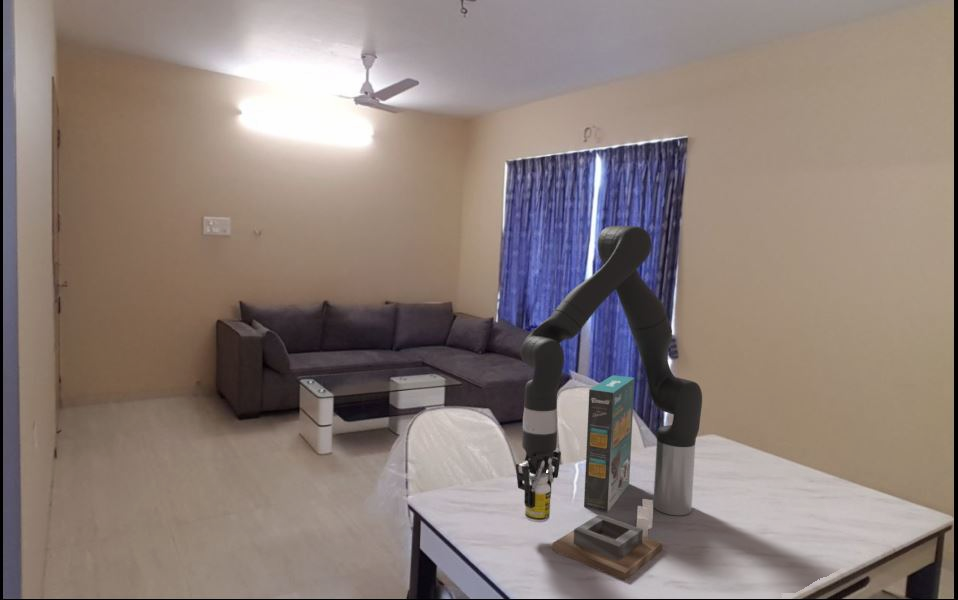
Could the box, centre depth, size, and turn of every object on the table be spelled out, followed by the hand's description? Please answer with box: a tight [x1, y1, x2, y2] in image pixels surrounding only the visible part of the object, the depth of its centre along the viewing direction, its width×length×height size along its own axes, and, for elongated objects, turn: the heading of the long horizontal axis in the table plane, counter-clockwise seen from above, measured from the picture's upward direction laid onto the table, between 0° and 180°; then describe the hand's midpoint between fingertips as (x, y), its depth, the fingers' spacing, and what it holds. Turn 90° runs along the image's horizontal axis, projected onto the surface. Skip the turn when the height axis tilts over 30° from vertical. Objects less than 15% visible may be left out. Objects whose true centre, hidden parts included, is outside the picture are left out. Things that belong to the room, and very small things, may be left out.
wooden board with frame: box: [551, 514, 664, 581], centre depth 127 cm, size 17×17×4 cm
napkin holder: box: [636, 498, 654, 538], centre depth 137 cm, size 15×11×6 cm
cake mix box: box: [583, 375, 635, 513], centre depth 156 cm, size 22×6×30 cm, turn 152°
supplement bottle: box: [524, 473, 552, 523], centre depth 130 cm, size 5×5×10 cm
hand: (537, 502), depth 130 cm, fingers closed on supplement bottle, 5 cm apart
